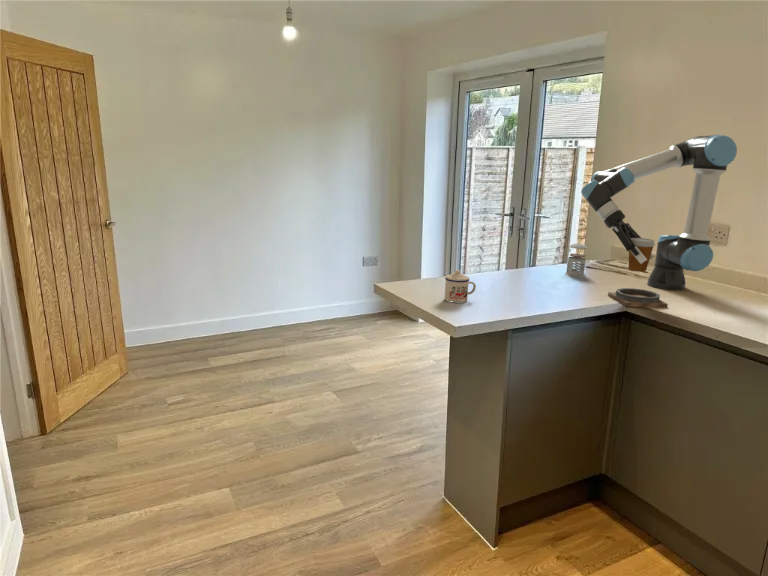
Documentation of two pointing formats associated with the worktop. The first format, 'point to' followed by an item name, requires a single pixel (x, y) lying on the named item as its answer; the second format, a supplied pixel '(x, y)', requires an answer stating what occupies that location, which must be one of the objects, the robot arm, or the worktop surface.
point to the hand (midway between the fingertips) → (647, 260)
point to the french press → (576, 261)
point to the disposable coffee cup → (646, 250)
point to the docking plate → (634, 304)
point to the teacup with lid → (457, 287)
